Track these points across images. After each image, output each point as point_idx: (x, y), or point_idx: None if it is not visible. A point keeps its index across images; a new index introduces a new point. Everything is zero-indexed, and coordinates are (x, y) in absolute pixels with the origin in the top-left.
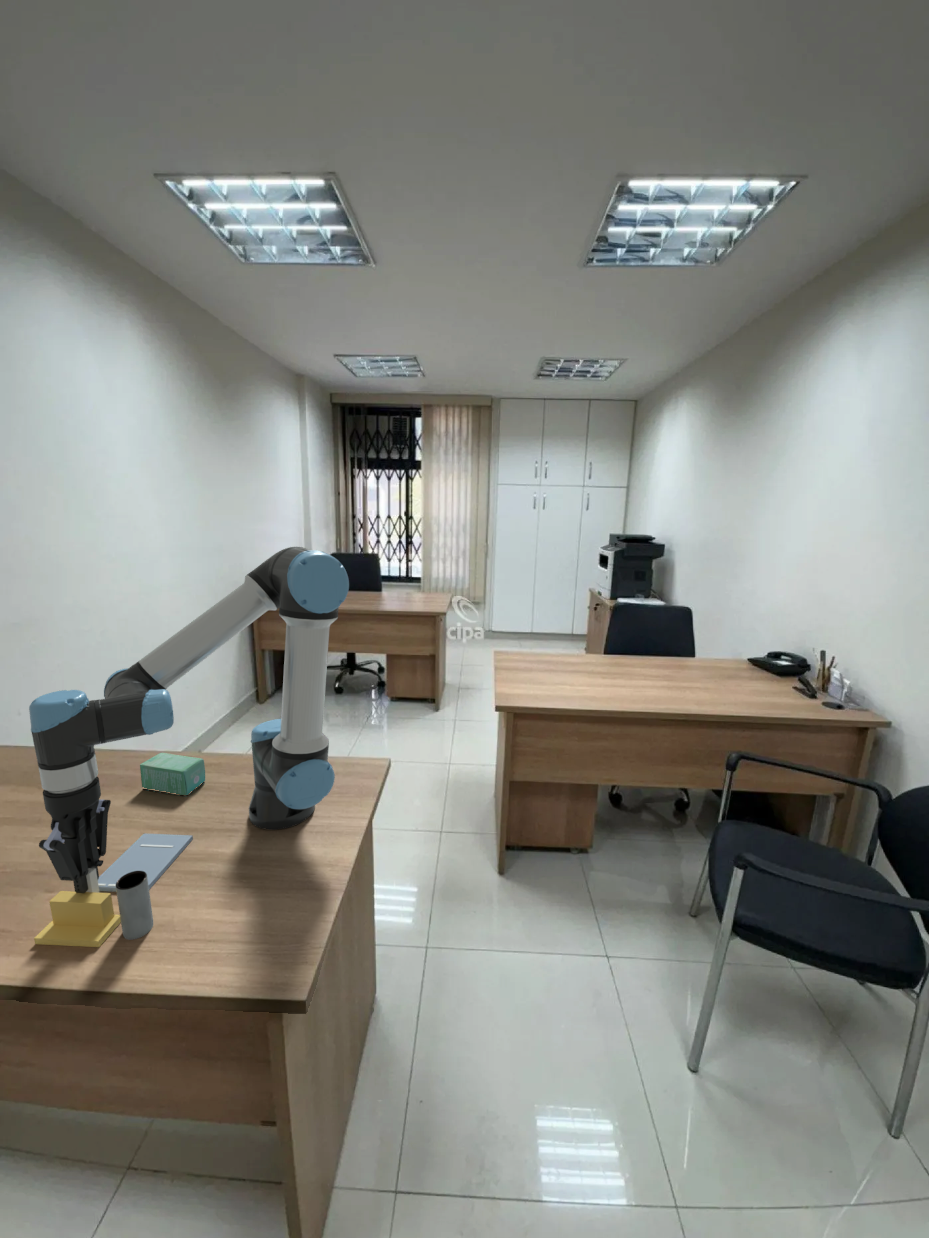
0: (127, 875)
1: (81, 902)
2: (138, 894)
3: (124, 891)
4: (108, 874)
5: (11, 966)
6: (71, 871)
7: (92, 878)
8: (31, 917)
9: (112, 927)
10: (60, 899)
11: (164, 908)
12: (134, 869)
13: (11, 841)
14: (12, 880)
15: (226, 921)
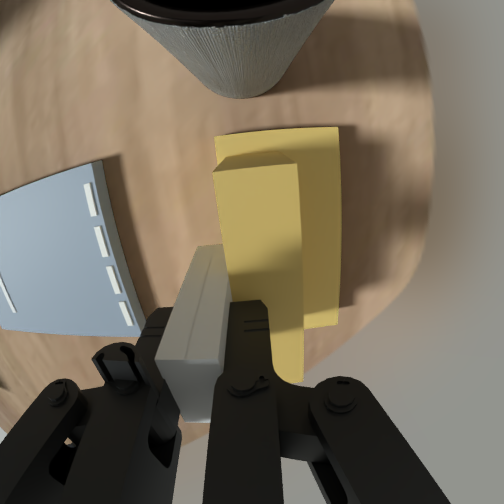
0: (162, 3)
1: (300, 270)
2: None
3: None
4: (94, 320)
5: (384, 306)
6: (410, 465)
7: (204, 323)
8: None
9: (266, 130)
10: (292, 359)
11: (142, 52)
12: (54, 267)
13: None
14: (185, 442)
15: None
